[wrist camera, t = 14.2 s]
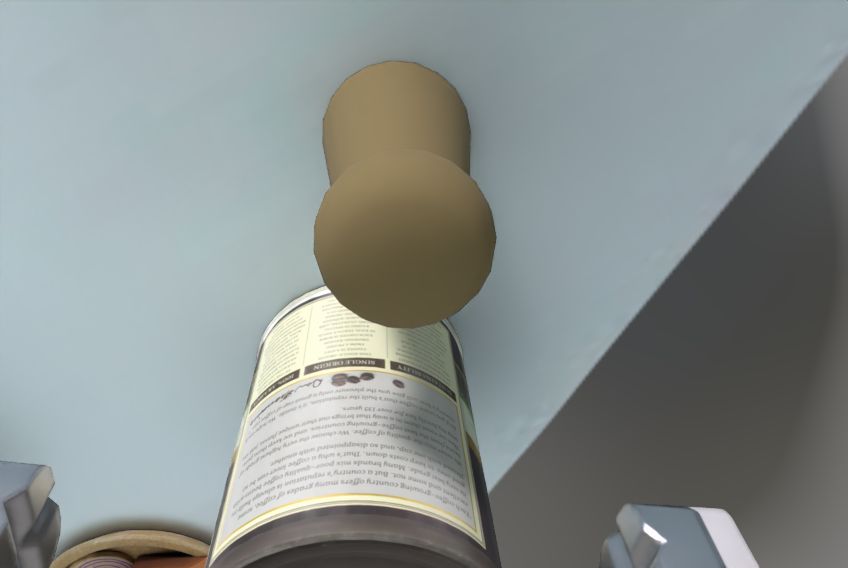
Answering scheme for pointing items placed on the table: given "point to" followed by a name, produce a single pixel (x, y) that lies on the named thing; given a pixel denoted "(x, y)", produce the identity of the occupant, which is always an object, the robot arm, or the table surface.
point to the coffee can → (355, 450)
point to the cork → (401, 199)
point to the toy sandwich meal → (136, 551)
